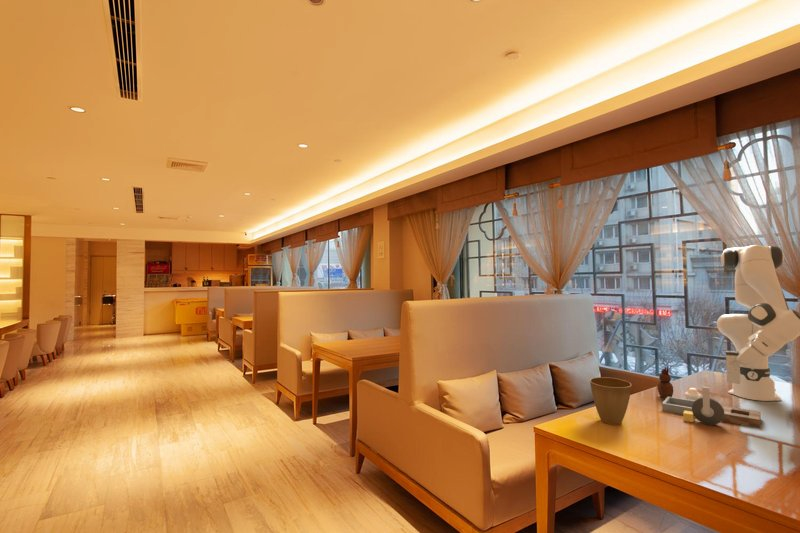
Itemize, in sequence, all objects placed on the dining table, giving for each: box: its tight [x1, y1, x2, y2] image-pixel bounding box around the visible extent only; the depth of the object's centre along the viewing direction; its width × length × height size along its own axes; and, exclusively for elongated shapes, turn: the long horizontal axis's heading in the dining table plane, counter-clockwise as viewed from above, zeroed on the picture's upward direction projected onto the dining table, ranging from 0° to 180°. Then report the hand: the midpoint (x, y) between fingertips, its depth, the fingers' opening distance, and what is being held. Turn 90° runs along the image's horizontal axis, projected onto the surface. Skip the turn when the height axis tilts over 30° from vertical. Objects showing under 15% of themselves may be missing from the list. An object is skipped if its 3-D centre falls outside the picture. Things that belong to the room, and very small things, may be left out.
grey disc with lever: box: [682, 386, 724, 426], centre depth 159 cm, size 7×13×15 cm, turn 47°
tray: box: [661, 396, 695, 415], centre depth 175 cm, size 13×13×3 cm
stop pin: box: [725, 350, 740, 384], centre depth 163 cm, size 4×4×12 cm
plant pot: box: [589, 376, 632, 426], centre depth 162 cm, size 15×15×16 cm
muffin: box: [684, 387, 702, 401], centre depth 184 cm, size 6×6×7 cm
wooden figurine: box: [657, 366, 674, 399], centre depth 193 cm, size 7×6×15 cm
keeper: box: [721, 405, 762, 428], centre depth 162 cm, size 12×12×3 cm
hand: (731, 365), depth 164 cm, fingers closed on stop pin, 4 cm apart
